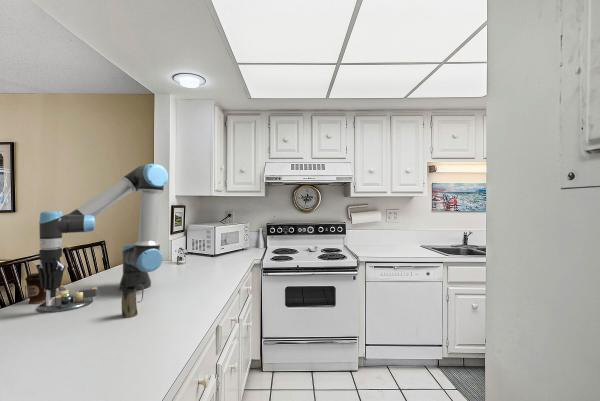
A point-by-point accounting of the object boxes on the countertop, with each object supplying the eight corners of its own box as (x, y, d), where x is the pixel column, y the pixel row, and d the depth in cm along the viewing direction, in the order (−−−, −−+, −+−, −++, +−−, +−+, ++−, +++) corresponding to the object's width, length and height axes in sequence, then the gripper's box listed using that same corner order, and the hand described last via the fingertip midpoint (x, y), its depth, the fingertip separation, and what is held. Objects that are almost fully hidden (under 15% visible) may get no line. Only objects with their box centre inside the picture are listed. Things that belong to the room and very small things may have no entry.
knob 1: (50, 305, 140) (49, 293, 140) (60, 303, 143) (60, 291, 143) (53, 310, 135) (53, 297, 134) (64, 307, 137) (64, 295, 137)
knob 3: (73, 302, 144) (73, 290, 144) (76, 299, 148) (76, 288, 148) (95, 300, 147) (94, 288, 147) (97, 298, 150) (97, 286, 150)
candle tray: (98, 296, 158) (98, 285, 158) (84, 309, 139) (84, 297, 139) (50, 300, 152) (50, 289, 152) (28, 314, 133) (28, 302, 133)
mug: (119, 318, 128) (119, 288, 128) (124, 313, 133) (123, 284, 133) (141, 316, 130) (141, 286, 129) (145, 311, 135) (144, 283, 135)
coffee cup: (35, 305, 144) (34, 276, 144) (20, 304, 146) (19, 275, 146) (53, 299, 153) (53, 272, 153) (39, 298, 154) (39, 271, 154)
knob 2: (69, 299, 149) (69, 287, 149) (60, 301, 146) (59, 289, 146) (65, 295, 155) (65, 284, 154) (56, 297, 152) (55, 286, 152)
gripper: (29, 248, 133) (29, 306, 133) (54, 250, 130) (54, 309, 130) (47, 246, 141) (47, 300, 141) (71, 247, 137) (71, 303, 138)
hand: (50, 304), depth 135 cm, fingers closed
